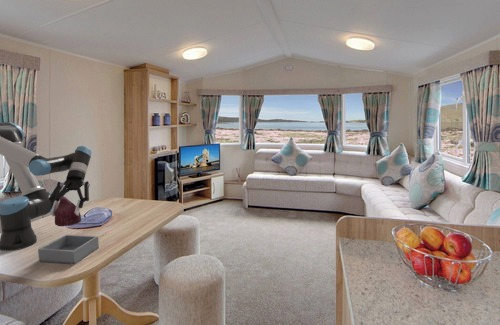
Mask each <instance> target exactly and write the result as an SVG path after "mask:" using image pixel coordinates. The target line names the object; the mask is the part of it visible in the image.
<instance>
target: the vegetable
mask: <svg viewBox="0 0 500 325" xmlns="http://www.w3.org/2000/svg"><path fill="white" fill-rule="evenodd" d="M58 203H59V204H58V207H57V210H56V212H55V216H54V225H55V226H57V227H69V226H73V225H77V224H80V222H81V221H82V216H81V212H80V211H79V215H76V214H75V213H74V212H75V209H76V204H74V203H73V201H70V200H69V198H68V197H66V196H65V195H64V196H62V197H61V198H60V200H59V201H58Z"/></svg>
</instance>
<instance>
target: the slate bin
mask: <svg viewBox="0 0 500 325" xmlns="http://www.w3.org/2000/svg"><path fill="white" fill-rule="evenodd" d="M99 242H100V241H99V236H97V235H82V234H81V235H80V234H65V235H62V236H61V237H59V238H56V239H55V240H53V241H52V242H49V243H47V244H46V245H44V246H42V247H39V248H38V250H37V253H38V261H39V263H48V264H60V265H73V266H74V265H77V264H78V263H79V262H81V261H82V260H83V259H85V258H86V257H88V256H90V255H91V254H92V253H94V252H95V251H97V250H98V249H99V248H100V246H99Z"/></svg>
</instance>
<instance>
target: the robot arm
mask: <svg viewBox="0 0 500 325" xmlns="http://www.w3.org/2000/svg"><path fill="white" fill-rule="evenodd" d="M24 139H25V133H24V130H23V128H22V127H21V126H20V125H18V124H16V123H15V122H7V121H6V122H5V121H3V122H0V155H1V156H3V157H4V159H5V161H6V163H7V165H8V167H9V169H10V171H11V173H12V176H13V177H14V179H15V182H16V183H17V186H18V187H19V189H20V191H21V195H20V196H14V197H10V198H7V199H5V200H2V201H1V202H0V226H1V227H0V228H1V229H0V230H1V234H0V251H16V250H20V249H21V250H22V249H24V248H27V247H29V246H33V245H34V244H36V243H37V241H38V239H37V235H36V234H35V231H34V230H33V227H32V222H31V220H34V219H36V218H40V217H42V216H46V215H48V214H49V213H50V215H51V217H55V212H56V210H57V207H58V204H59V202H60V198H61V197H62V196H64V197H65V195H66V194H68V193H69V192H70V191H76V192H77V195H78V198H79V199H78V200H77V202H76V204H75V206H76V209H75V212H74V213H75V214H76V215H79V212H80V210H81V209H83V207H84V203H85V202H90V194H89V187H90V186H91V185H90V182H89V181H88V180H87V181H85V179H86V175H87V171H88V166H89V164H90V161H91V158H92V153H93V152H92V150H91V149H90V148H89V147H87V146H84V145H80V146H79V145H78V146H77V147H76V148H75V150H74V152H71V153H68V154H65V155H62V156H61V155H60V156H56V157H55V156H54V157H45V156H42V155H40V154H39V153H36V152H34V151H33V150H30V149H28V148H25V147H23V145H24V142H23V141H24ZM66 171H67V172H68V173H67V175H66V179H65V181H63V182H61V181H58V182H56V183H57V184H56V187H55V188H54V190H53V191H52V193H51V192H50V191H47V190H46V187H42V186H41V184H40V183H39V180H38V178H37V177H39V176H40V177H41V176H46V175H50V174H56V173H61V172H62V173H63V172H66ZM81 187H84V190H83V191H84V192H83V193H84V196H83V193H82V190H81Z"/></svg>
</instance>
